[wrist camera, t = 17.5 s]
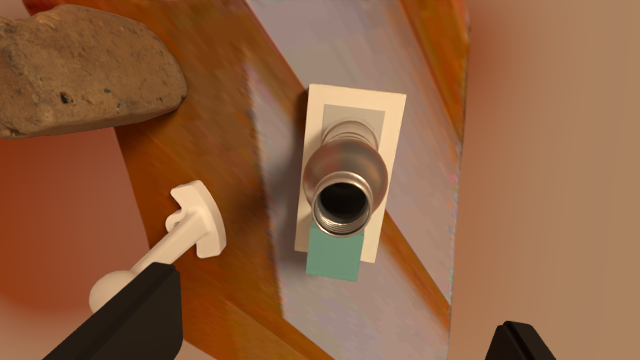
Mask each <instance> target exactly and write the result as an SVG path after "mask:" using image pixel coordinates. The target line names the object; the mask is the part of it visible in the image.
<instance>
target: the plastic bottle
mask: <svg viewBox="0 0 640 360" xmlns="http://www.w3.org/2000/svg"><path fill="white" fill-rule="evenodd" d="M378 151H379V140H378V136H377V134H376V132H375V130H374V128H373V127H372V126H371V125H370V124H369V123H368V122H366V121H365V120H363V119H360V118H357V117H345V118H342V119H339V120H337V121H335V122H334V123H332V124H331V125H330V126H329V127H328V128H327V130H326V131H325V133H324V135H323V137H322V141H321V146H320V147H319V148H318V149H317V150H316V151H315V152H314V153H313V154H312V156H311V157H310V158H309V160H308V162H307V164H306V166H305V169H304V173H303V190H304V193H305V196H306V199H307V202H308V203H309V205H310V207H311V212H312V217H313V220H314V222H315V224H316V225H317V226H318V228H319V229H320V230H321V231H323V232H324V233H326V234H328V235H330V236H333V237H337V238H347V237H351V236H354V235H356V234H358V233H359V232H361V231H362V230H363V229H364V228H365V227H366V226H367V224H368V223H369V221H370V218H371V216H372V214H373V213H374V212H375V211H376V209H377V208H378V207H379V206H380V204H381V202H382V201H383V199H384V197H385V194H386V192H387V187H388V172H387V168H386V165H385V163H384V161H383V159H382V157H381V155H380V154H379V153H378Z"/></svg>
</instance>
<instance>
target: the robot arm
mask: <svg viewBox="0 0 640 360" xmlns="http://www.w3.org/2000/svg"><path fill="white" fill-rule="evenodd" d="M182 342H183V330H182V309H181V287H180V273H179V271H177V270H176V269H175V266H174V265H172V264H166V263H160V262H152V263H151V264H150V265H148V266H147V267H146V268H145V269H144V270H143V271H142V272H141V273H139V274H138V275H137V276H136V277H135V278H134V279H133V280H131V281H130V282H129V283H128V284H127V285H126V286H125V287H124V288H122V289H121V290H120V291H119V292H118V293H117V294H116V295H115V296H113V297H112V298H111V299H110V300H109V301H108V302H107V303H105V304H104V305H103V306H102V307H101V308H100V309H99V310H98V311H96V312H95V313H94V314H93V315H92V316H91V317H90V318H89V319H88V320H86V321H85V322H84V323H83V324H82V325H81V326H79V327H78V328H77V329H76V330H75V331H74V332H73V333H72V334H70V335H69V336H68V337H67V338H66V339H65V340H64V341H63V342H62V343H61V344H59V345H58V346H57V347H56V348H55V349H54V350H53V351H51V352H50V353H49V354H48V355H47V356H46V357H44V359H42V360H174V359H175V357H176V356H177V354H178V352H179V350H180V348H181V346H182ZM485 360H556V358H555V357H554V356H553V354H552V353H551V351H550V350H549V349H548V347H547V346H546V345H545V343H544V342H543V340H542V339H541V338H540V336H539V335H538V333H537V332H536V330H535V329H534V328H533V327H532V326H531V325H529V324H525V323H518V322H512V321H505V322H504V323H503V325H499V326H497V328H496V331H495V334H494V336H493V339H492V342H491V344H490V347H489V350H488V352H487V355H486V358H485Z"/></svg>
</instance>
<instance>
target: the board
mask: <svg viewBox="0 0 640 360" xmlns="http://www.w3.org/2000/svg"><path fill="white" fill-rule="evenodd" d="M405 100H406V95H405V94H399V93H390V92H381V91H373V90H364V89H356V88H347V87H338V86H330V85H321V84H310V86H309V97H308V108H307V119H306V130H305V140H304V151H303V162H302V173H301V184H300V195H299V205H298V216H297V227H296V238H295V249H294V250H295V251H302V252H308V246H309V236H310V228H311V225H312V222H313V217H312V212H311V207H310V205H309V203H308V202H307V199H306V196H305V193H304V190H303V173H304V169H305V166H306V164H307V162H308V160H309V158H310V157H311V156H312V154H313V153H314V152H315V151H316V150H317V149H318V148H319V147H320V146H321V141H322V137H323V135H324V133H325V131H326V130H327V128H328V127H329V126H330V125H331V124H332V123H334V122H335V121H337V120H339V119H342V118H345V117H357V118H360V119H363V120H365V121H366V122H368V123H369V124H370V125H371V126H372V127H373V128H374V130H375V132H376V134H377V136H378V140H379V151H378V153H379V154H380V155H381V157H382V159H383V161H384V163H385V165H386V168H387V172H388V187H387V192H386V194H385V197H384V199H383V201H382V202H381V204H380V206H379V207H378V208H377V209H376V211H375V212H374V213H373V214H372V216H371V218H370V221H369V223H368V224H367V226H366V227H365V228H364V241H363V247H362V253H361V259H360V261H365V262H371V263H374V262H375V257H376V252H377V246H378V241H379V236H380V231H381V225H382V220H383V215H384V210H385V205H386V199H387V194H388V189H389V184H390V178H391V173H392V168H393V163H394V158H395V152H396V147H397V142H398V137H399V131H400V126H401V121H402V116H403V111H404V105H405Z"/></svg>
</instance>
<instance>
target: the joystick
mask: <svg viewBox="0 0 640 360" xmlns="http://www.w3.org/2000/svg"><path fill="white" fill-rule="evenodd" d="M171 195H172V196H173V197H174V199H175V200H176V201H177V202H178V203H179V205H180V206H181V208H182V209H180V210H177V211H176V212H174V213H173V214H172V215H170V216H169V217H168V218H167V220H166V228H167V231H168V232H169V233H168V234H167V235H166V236H165V237H164V238H163V239H161V240H160V241H159V242H158V243H157V244H156V245H155V246H154V247H153V248H152V249H151V250H150V251H149V252H148V253H147V254H146V255H144V256H143V257H142V258H141V259H140V260H139V261H138V262H137V263H136V264H135V265H134V266H133V267H132V268H131V269H129V270H119V271H114V272H111V273H108V274H106V275H105V276H103V277H102V278H101V279H99V280H98V281H97V282H96V284H95V285H94V286H93V288H92V290H91V292H90V296H89V305H90V308H91V310H92V312H93V313H95V312H96V311H98V310H99V309H100V308H101V307H102V306H103V305H104V304H105V303H107V302H108V301H109V300H110V299H111V298H112V297H113V296H115V295H116V294H117V293H118V292H119V291H120V290H121V289H122V288H124V287H125V286H126V285H127V284H128V283H129V282H130V281H131V280H133V279H134V278H135V277H136V276H137V275H138V274H139V273H141V272H142V271H143V270H144V269H145V268H146V267H147V266H148V265H150V264H151V263H152V262H160V263H166V264H172V263H173V262H174V261H175V260H176V259H177V258H179V257H180V256H181V255H182V254H183V253H184V252H186V251H187V250H188V249H189V248H190V247H191V246H193V245H194V244H195V243H196V245H197V256H198V257H200V258H205V257H210V256H216V255H219V254H220V253H221V251H222V250H223V249H224V248H225V246H226V234H225V228H224V224H223V220H222V217H221V214H220V212H219V209H218V207H217V205H216V203H215V201H214V199H213V198H212V196H211V194H210V193H209V191H208V190H207V188H206V187H205V186H204V184H203V183H202V182H201V181H199V180H196V181H192V182H190V183H188V184H184V185H179V186H177V187H176V188H174V189H172V190H171Z"/></svg>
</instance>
